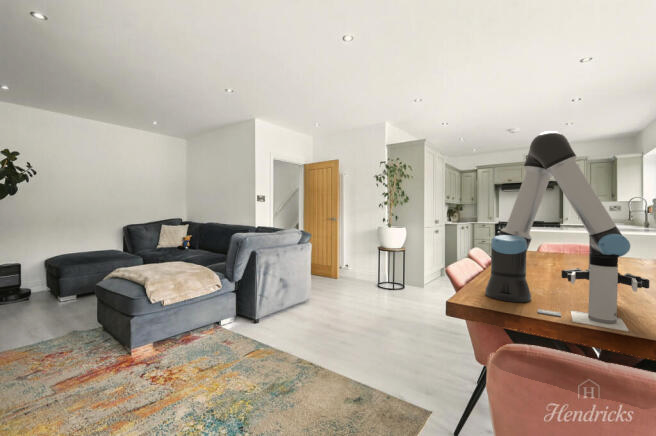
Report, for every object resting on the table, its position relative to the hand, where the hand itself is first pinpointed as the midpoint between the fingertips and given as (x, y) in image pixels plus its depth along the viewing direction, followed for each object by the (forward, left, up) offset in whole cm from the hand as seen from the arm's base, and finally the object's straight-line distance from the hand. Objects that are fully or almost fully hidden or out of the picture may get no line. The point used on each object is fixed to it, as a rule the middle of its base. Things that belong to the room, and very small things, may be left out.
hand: (602, 282), depth 89 cm
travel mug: (-1, +2, -12) cm, 12 cm away
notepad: (-2, +1, -12) cm, 12 cm away
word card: (-10, -8, -12) cm, 17 cm away
